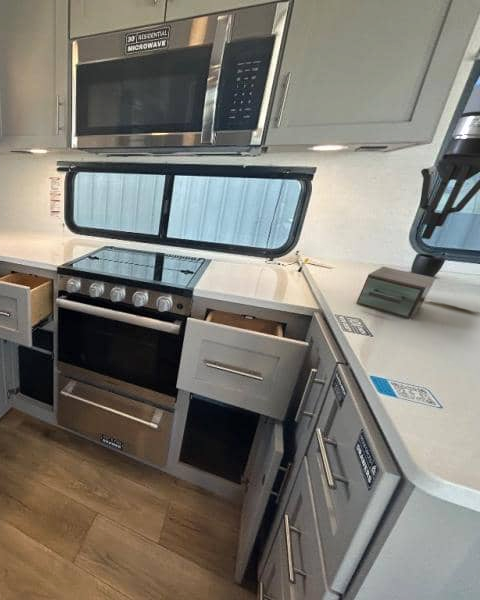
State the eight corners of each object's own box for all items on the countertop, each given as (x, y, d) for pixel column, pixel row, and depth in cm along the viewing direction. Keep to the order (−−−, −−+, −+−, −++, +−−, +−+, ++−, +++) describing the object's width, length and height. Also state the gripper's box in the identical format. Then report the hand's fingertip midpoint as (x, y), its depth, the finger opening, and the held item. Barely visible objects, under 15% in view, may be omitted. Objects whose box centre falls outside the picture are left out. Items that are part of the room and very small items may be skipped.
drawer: (403, 321, 89) (416, 294, 86) (352, 305, 97) (363, 281, 94) (418, 305, 101) (430, 281, 98) (372, 292, 109) (382, 270, 106)
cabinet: (409, 319, 93) (425, 287, 89) (356, 303, 102) (368, 274, 98) (420, 306, 103) (435, 277, 99) (370, 293, 112) (382, 266, 108)
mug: (435, 278, 133) (447, 256, 130) (433, 284, 126) (445, 260, 122) (408, 273, 139) (419, 251, 135) (404, 278, 131) (415, 255, 128)
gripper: (432, 137, 79) (390, 234, 89) (516, 136, 70) (459, 245, 79) (437, 139, 84) (396, 232, 93) (517, 139, 74) (463, 242, 84)
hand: (425, 238), depth 86 cm, fingers closed
